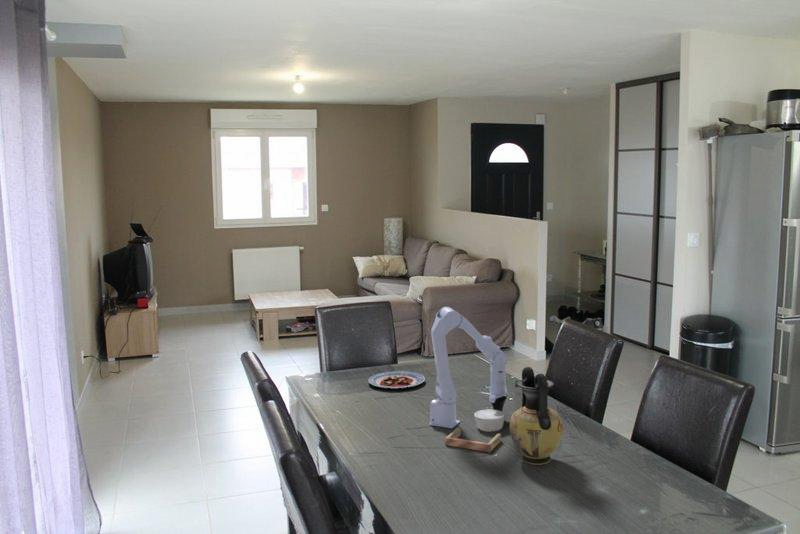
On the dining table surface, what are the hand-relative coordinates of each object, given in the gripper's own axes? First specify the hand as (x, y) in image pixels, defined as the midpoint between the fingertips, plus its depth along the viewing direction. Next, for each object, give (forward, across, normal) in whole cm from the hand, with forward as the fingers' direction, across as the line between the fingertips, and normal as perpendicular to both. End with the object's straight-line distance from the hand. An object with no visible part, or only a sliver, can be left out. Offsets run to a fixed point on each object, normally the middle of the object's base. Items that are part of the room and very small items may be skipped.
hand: (498, 415), depth 265 cm
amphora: (+2, -32, -24) cm, 40 cm away
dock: (+1, -26, 0) cm, 26 cm away
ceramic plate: (+2, +27, +58) cm, 64 cm away
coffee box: (+2, -3, -11) cm, 11 cm away
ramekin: (+2, -10, 0) cm, 10 cm away
